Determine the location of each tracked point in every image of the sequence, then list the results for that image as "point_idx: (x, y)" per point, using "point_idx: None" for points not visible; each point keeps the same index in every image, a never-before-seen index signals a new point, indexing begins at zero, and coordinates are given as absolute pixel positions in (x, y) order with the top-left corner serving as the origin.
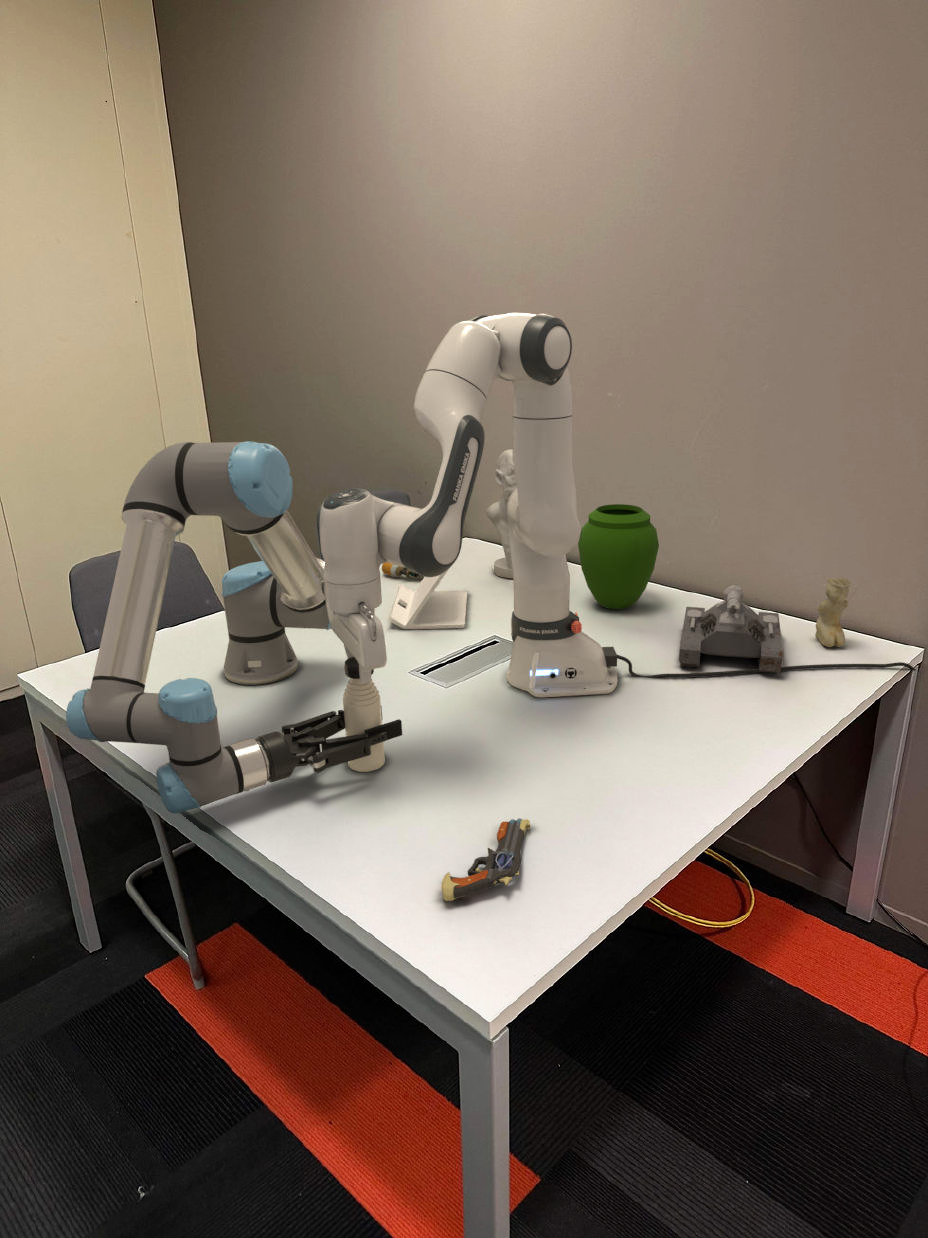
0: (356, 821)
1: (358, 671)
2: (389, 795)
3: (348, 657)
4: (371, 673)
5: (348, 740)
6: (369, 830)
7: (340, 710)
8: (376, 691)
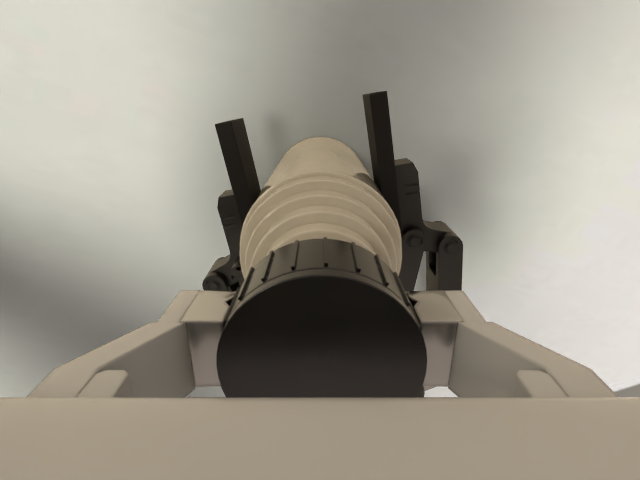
0: (534, 270)
1: (435, 385)
2: (486, 179)
3: (189, 390)
4: (389, 270)
5: (413, 289)
6: (579, 257)
7: (233, 273)
8: (361, 204)
